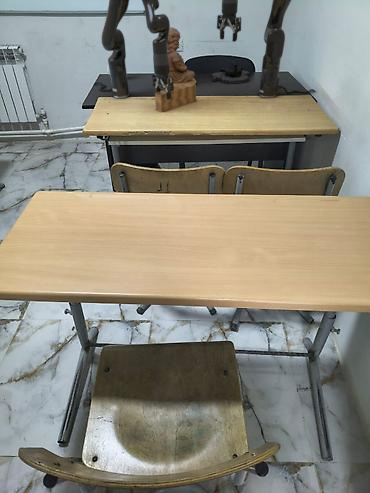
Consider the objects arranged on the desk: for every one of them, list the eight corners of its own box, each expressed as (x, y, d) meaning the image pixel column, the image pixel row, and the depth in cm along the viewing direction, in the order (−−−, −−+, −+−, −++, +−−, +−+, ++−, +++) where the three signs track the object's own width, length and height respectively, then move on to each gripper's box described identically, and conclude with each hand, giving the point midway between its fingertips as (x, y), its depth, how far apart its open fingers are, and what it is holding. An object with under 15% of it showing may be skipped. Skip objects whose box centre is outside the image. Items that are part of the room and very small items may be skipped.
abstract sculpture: (216, 68, 212) (209, 60, 227) (216, 84, 218) (208, 75, 233) (257, 65, 215) (247, 57, 230) (255, 81, 221) (245, 73, 236)
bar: (161, 111, 185) (160, 94, 180) (156, 109, 188) (154, 92, 182) (196, 100, 197) (196, 84, 191) (190, 98, 200) (189, 82, 194)
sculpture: (197, 88, 213) (196, 30, 194) (156, 89, 214) (152, 31, 194) (196, 75, 234) (196, 22, 215) (159, 76, 235) (156, 23, 215)
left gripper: (176, 64, 171) (178, 98, 182) (158, 59, 180) (161, 93, 190) (164, 67, 168) (166, 102, 178) (146, 62, 176) (149, 96, 187)
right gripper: (246, 1, 167) (243, 41, 178) (224, -1, 176) (223, 37, 186) (235, 3, 164) (233, 43, 174) (213, 1, 172) (212, 39, 182)
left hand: (163, 97), depth 184 cm, fingers open, 8 cm apart
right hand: (228, 40), depth 180 cm, fingers open, 8 cm apart
